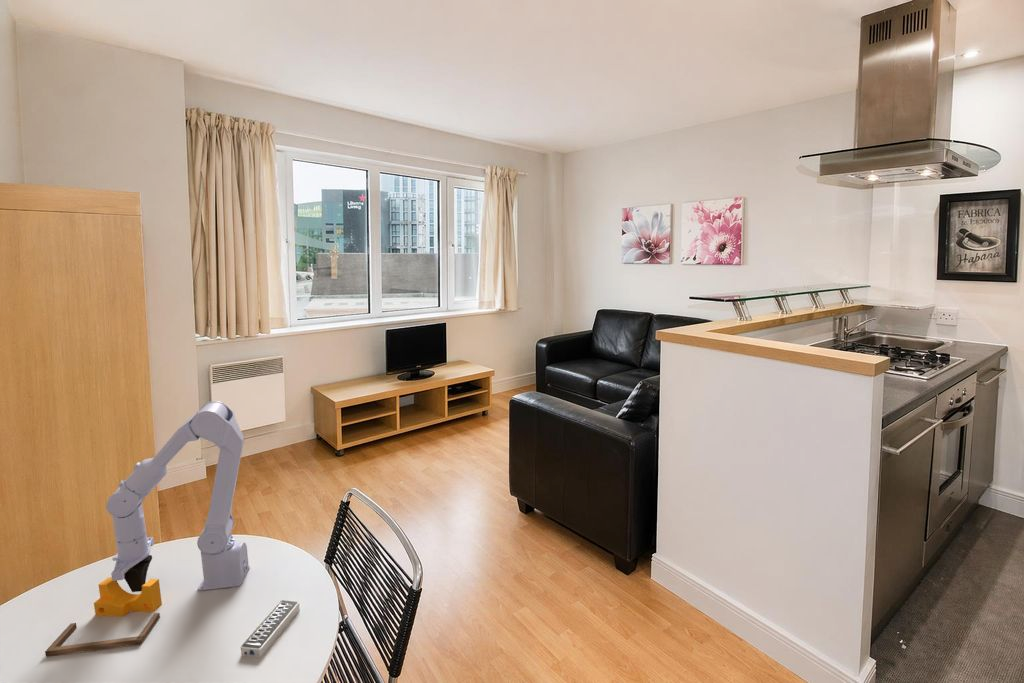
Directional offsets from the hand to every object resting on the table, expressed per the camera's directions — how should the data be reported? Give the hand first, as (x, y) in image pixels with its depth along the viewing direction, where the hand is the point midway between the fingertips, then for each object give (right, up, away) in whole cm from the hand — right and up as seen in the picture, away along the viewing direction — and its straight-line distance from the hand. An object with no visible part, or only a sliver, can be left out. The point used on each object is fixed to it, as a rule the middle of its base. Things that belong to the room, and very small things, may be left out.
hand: (138, 589), depth 120 cm
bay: (+3, -3, -13) cm, 14 cm away
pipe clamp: (+1, -2, -5) cm, 6 cm away
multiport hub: (+37, -4, -11) cm, 39 cm away
